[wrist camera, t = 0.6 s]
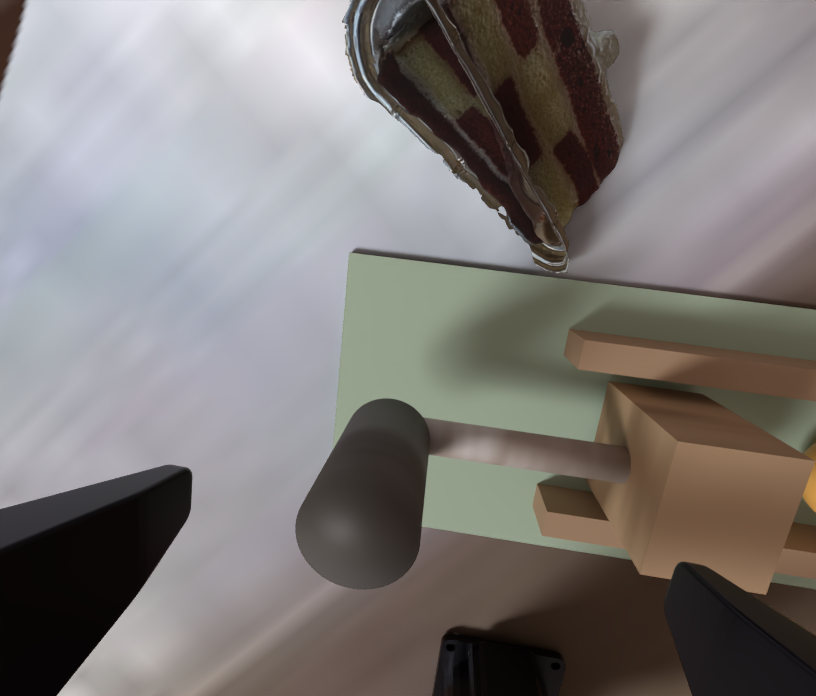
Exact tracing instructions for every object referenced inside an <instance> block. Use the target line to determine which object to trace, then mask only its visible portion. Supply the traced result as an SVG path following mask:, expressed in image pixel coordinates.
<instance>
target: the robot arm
mask: <svg viewBox="0 0 816 696" xmlns="http://www.w3.org/2000/svg"><path fill="white" fill-rule="evenodd" d="M191 495H192V472H191V470H190V469H189V468H186V467H181V466H176V465H164V466H161V467H157V468H153V469H149V470H146V471H142V472H138V473H134V474H131V475H127V476H123V477H119V478H116V479H112V480H108V481H104V482H101V483H97V484H93V485H89V486H86V487H82V488H78V489H74V490H71V491H67V492H63V493H59V494H56V495H52V496H48V497H44V498H41V499H37V500H33V501H29V502H26V503H22V504H18V505H14V506H11V507H7V508H3V509H0V696H57V694H58V693H59V692H60V691H61V689H62V688H63V687H64V686H65V684H66V683H67V682H68V681H69V679H70V678H71V677H72V676H73V674H74V673H75V672H76V671H77V669H78V668H79V667H80V666H81V664H82V663H83V662H84V661H85V659H86V658H87V657H88V656H89V654H90V653H91V652H92V651H93V649H94V648H95V647H96V646H97V645H98V643H99V642H100V641H101V640H102V638H103V637H104V636H105V635H106V633H107V632H108V631H109V630H110V628H111V627H112V626H113V625H114V623H115V622H116V621H117V620H118V618H119V617H120V616H121V615H122V613H123V612H124V611H125V610H126V608H127V607H128V606H129V605H130V603H131V602H132V601H133V599H134V598H135V597H136V595H137V594H138V593H139V591H140V590H141V588H142V587H143V586H144V584H145V583H146V581H147V580H148V578H149V577H150V575H151V574H152V572H153V571H154V569H155V568H156V566H157V565H158V563H159V562H160V560H161V559H162V557H163V556H164V554H165V553H166V551H167V549H168V548H169V546H170V545H171V543H172V542H173V540H174V539H175V537H176V536H177V534H178V533H179V531H180V530H181V528H182V527H183V525H184V524H185V522H186V520H187V518H188V516H189V513H190V510H191ZM664 611H665V616H666V619H667V622H668V625H669V628H670V631H671V634H672V637H673V640H674V643H675V646H676V649H677V652H678V655H679V658H680V661H681V663H682V666H683V669H684V672H685V675H686V678H687V681H688V684H689V687H690V690H691V693H692V696H816V635H814V634H813V633H811V632H809V631H808V630H806V629H805V628H803V627H802V626H800V625H798V624H797V623H795V622H794V621H792V620H791V619H789V618H787V617H786V616H784V615H783V614H781V613H779V612H778V611H776V610H775V609H773V608H772V607H770V606H768V605H767V604H765V603H764V602H762V601H761V600H759V599H757V598H756V597H754V596H753V595H751V594H750V593H748V592H746V591H745V590H743V589H742V588H740V587H738V586H737V585H735V584H734V583H732V582H731V581H729V580H727V579H726V578H724V577H723V576H721V575H720V574H718V573H716V572H715V571H713V570H712V569H710V568H709V567H707V566H704V565H701V564H696V563H690V562H684V561H682V562H680V563H678V564H677V565H676V566H675V569H674V572H673V575H672V578H671V581H670V584H669V587H668V590H667V593H666V596H665V600H664ZM449 644H453V645H449ZM553 662H556V663H553ZM564 671H565V662H564V659H563V656H562V655H561V654H560V653H558V652H555V651H549V650H543V649H537V648H532V647H526V646H520V645H514V644H509V643H503V642H497V641H492V640H486V639H480V638H474V637H469V636H463V635H457V634H446V635H444V636H443V637H442V640H441V646H440V652H439V658H438V664H437V670H436V676H435V682H434V688H433V694H432V696H558V694H559V690H560V686H561V682H562V679H563V675H564Z"/></svg>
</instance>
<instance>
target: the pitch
mask: <svg viewBox="0 0 816 696" xmlns="http://www.w3.org/2000/svg"><path fill="white" fill-rule="evenodd" d="M608 381H611V382H619V383H626V384H633V385H641V386H648V387H655V388H663V389H670V390H677V391H685V392H692V393H699V394H704V395H705V396H707V397H709V398H710V399H712V400H714V401H715V402H717V403H719V404H720V405H722V406H724V407H725V408H727V409H729V410H730V411H732V412H734V413H735V414H737V415H739V416H741V417H742V418H744V419H746V420H747V421H749V422H751V423H752V424H754V425H756V426H757V427H759V428H761V429H762V430H764V431H766V432H767V433H769V434H771V435H772V436H774V437H776V438H778V439H779V440H781V441H783V442H784V443H786V444H788V445H789V446H791V447H793V448H794V449H796V450H798V451H799V452H801V453H804V452H805V451H806V450H807V449H808V448H809V447H810V446H812V445H813V444H815V443H816V310H814V309H806V308H798V307H790V306H782V305H773V304H765V303H757V302H749V301H741V300H733V299H725V298H717V297H708V296H700V295H692V294H684V293H676V292H668V291H660V290H651V289H643V288H635V287H627V286H619V285H611V284H603V283H595V282H586V281H578V280H570V279H562V278H554V277H546V276H538V275H530V274H521V273H513V272H505V271H497V270H489V269H481V268H473V267H464V266H456V265H448V264H440V263H432V262H424V261H416V260H408V259H399V258H391V257H383V256H375V255H367V254H359V253H349V261H348V273H347V285H346V297H345V309H344V321H343V333H342V345H341V357H340V369H339V381H338V393H337V406H336V418H335V430H334V442H333V449H334V447H335V445H336V444H337V442H338V440H339V438H340V437H341V435H342V433H343V431H344V429H345V428H346V426H347V424H348V422H349V421H350V419H351V417H352V416H353V414H354V413H355V412H356V411H357V409H359V408H360V407H361V406H362V405H364V404H366V403H368V402H370V401H373V400H376V399H382V398H390V399H396V400H400V401H403V402H405V403H407V404H409V405H411V406H412V407H414V408H415V409H416V410H417V411H418V412H419V413H420V414H421V415H422V417H424V418H431V419H438V420H445V421H452V422H459V423H466V424H473V425H480V426H487V427H494V428H500V429H507V430H514V431H521V432H528V433H535V434H542V435H549V436H556V437H563V438H570V439H576V440H583V441H590V442H594V440H595V436H596V432H597V427H598V423H599V419H600V415H601V411H602V406H603V402H604V398H605V394H606V389H607V385H608ZM422 526H423V527H429V528H435V529H442V530H448V531H454V532H460V533H467V534H473V535H479V536H485V537H492V538H498V539H504V540H510V541H517V542H523V543H529V544H535V545H542V546H548V547H554V548H560V549H567V550H573V551H579V552H585V553H592V554H598V555H604V556H610V557H617V558H623V559H629V560H631V558H630V556H629V554H628V553H627V551H626V549H625V547H624V546H623V544H622V542H621V540H620V539H619V537H618V535H617V533H616V532H615V530H614V528H613V527H612V525H611V523H610V521H609V520H608V518H607V516H606V514H605V513H604V511H603V509H602V507H601V506H600V504H599V502H598V500H597V499H596V497H595V495H594V494H593V492H592V490H591V488H590V487H589V485H588V483H587V481H586V480H585V478H580V477H574V476H567V475H560V474H554V473H547V472H540V471H534V470H527V469H520V468H514V467H507V466H500V465H494V464H487V463H480V462H474V461H467V460H460V459H454V458H447V457H440V456H434V455H429V457H428V468H427V478H426V488H425V498H424V508H423V518H422ZM771 582H773V583H779V584H785V585H792V586H798V587H804V588H810V589H816V513H815V512H814V511H813V510H812V509H811V508H810V507H809V505H808V504H807V503H806V502H805V500H804V498H803V497H802V499H801V501H800V504H799V507H798V510H797V512H796V515H795V518H794V520H793V523H792V526H791V528H790V531H789V534H788V537H787V539H786V542H785V545H784V547H783V550H782V553H781V556H780V558H779V561H778V564H777V566H776V569H775V572H774V574H773V577H772V580H771Z"/></svg>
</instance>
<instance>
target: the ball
mask: <svg viewBox="0 0 816 696" xmlns="http://www.w3.org/2000/svg"><path fill="white" fill-rule="evenodd" d="M803 454H804V455H806V456H808V457H809V458H811V459H813V460H815V464H814V466H813V469H812V472H811V474H810V477H809V480H808V482H807V485H806V488H805V491H804V493H803V496H802V497H803V498H804V500H805V502H806V503H807V504H808V505H809V507H810V508H811V509H812V510H813V511H814V512H815V513H816V443H815V444H813V445H812V446H810V447H809V448H808V449H807V450H806V451H805V452H804V453H803Z"/></svg>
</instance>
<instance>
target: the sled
mask: <svg viewBox="0 0 816 696" xmlns="http://www.w3.org/2000/svg"><path fill="white" fill-rule="evenodd" d="M429 455H434V456H440V457H447V458H454V459H460V460H467V461H474V462H480V463H487V464H494V465H500V466H507V467H514V468H520V469H527V470H534V471H540V472H547V473H554V474H560V475H567V476H574V477H580V478H585V480H586V481H587V483H588V485H589V487H590V488H591V490H592V492H593V494H594V495H595V497H596V499H597V500H598V502H599V504H600V506H601V507H602V509H603V511H604V513H605V514H606V516H607V518H608V520H609V521H610V523H611V525H612V527H613V528H614V530H615V532H616V533H617V535H618V537H619V539H620V540H621V542H622V544H623V546H624V547H625V549H626V551H627V553H628V554H629V556H630V558H631V560H632V561H633V563H634V565H635V567H636V568H637V570H638V572H639V573H640V575H647V576H653V577H659V578H665V579H671V578H672V575H673V572H674V569H675V566H676V565H677V564H678V563H680V562H682V561H684V562H690V563H696V564H701V565H704V566H707V567H709V568H710V569H712V570H713V571H715V572H716V573H718V574H720V575H721V576H723V577H724V578H726V579H727V580H729V581H731V582H732V583H734V584H735V585H737V586H738V587H740V588H742V589H743V590H745V591H746V592H752V593H758V594H764V595H766V593H767V591H768V588H769V585H770V583H771V580H772V577H773V574H774V572H775V569H776V566H777V564H778V561H779V558H780V556H781V553H782V550H783V547H784V545H785V542H786V539H787V537H788V534H789V531H790V528H791V526H792V523H793V520H794V518H795V515H796V512H797V510H798V507H799V504H800V501H801V499H802V496H803V493H804V491H805V488H806V485H807V482H808V480H809V477H810V474H811V472H812V469H813V466H814V464H815V460H813V459H811V458H809V457H808V456H806V455H804V454H803V453H801V452H799V451H798V450H796V449H794V448H793V447H791V446H789V445H788V444H786V443H784V442H783V441H781V440H779V439H778V438H776V437H774V436H772V435H771V434H769V433H767V432H766V431H764V430H762V429H761V428H759V427H757V426H756V425H754V424H752V423H751V422H749V421H747V420H746V419H744V418H742V417H741V416H739V415H737V414H735V413H734V412H732V411H730V410H729V409H727V408H725V407H724V406H722V405H720V404H719V403H717V402H715V401H714V400H712V399H710V398H709V397H707V396H705V395H704V394H699V393H692V392H685V391H677V390H670V389H663V388H655V387H648V386H641V385H633V384H626V383H619V382H611V381H608V385H607V389H606V394H605V398H604V402H603V406H602V411H601V415H600V419H599V423H598V427H597V432H596V436H595V440H594V442H590V441H583V440H576V439H570V438H563V437H556V436H549V435H542V434H535V433H528V432H521V431H514V430H507V429H500V428H494V427H487V426H480V425H473V424H466V423H459V422H452V421H445V420H438V419H431V418H424V417H422V415H421V414H420V413H419V412H418V411H417V410H416V409H415V408H414V407H412V406H411V405H409V404H407V403H405V402H403V401H400V400H396V399H390V398H382V399H376V400H373V401H370V402H368V403H366V404H364V405H362V406H361V407H360V408H359V409H357V411H356V412H355V413H354V414H353V416H352V417H351V419H350V421H349V422H348V424H347V426H346V428H345V429H344V431H343V433H342V435H341V437H340V438H339V440H338V442H337V444H336V445H335V447H334V449H333V451H332V452H331V454H330V456H329V458H328V459H327V461H326V463H325V465H324V467H323V468H322V470H321V472H320V474H319V475H318V477H317V479H316V481H315V482H314V484H313V486H312V488H311V490H310V491H309V493H308V495H307V497H306V498H305V500H304V502H303V504H302V505H301V508H300V510H299V512H298V515H297V519H296V539H297V543H298V546H299V548H300V551H301V553H302V555H303V556H304V558H305V560H306V561H307V562H308V564H309V565H310V566H311V567H312V568H313V569H314V570H315V571H316V572H317V573H319V574H320V575H321V576H322V577H324V578H326V579H327V580H329V581H331V582H333V583H335V584H338V585H340V586H343V587H347V588H352V589H375V588H379V587H383V586H386V585H389V584H391V583H393V582H395V581H396V580H398V579H399V578H401V577H402V576H403V575H404V574H405V573H406V572H407V571H408V570H409V569H410V568H411V566H412V565H413V563H414V561H415V560H416V557H417V555H418V551H419V547H420V538H421V528H422V518H423V508H424V498H425V488H426V478H427V468H428V457H429Z"/></svg>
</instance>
